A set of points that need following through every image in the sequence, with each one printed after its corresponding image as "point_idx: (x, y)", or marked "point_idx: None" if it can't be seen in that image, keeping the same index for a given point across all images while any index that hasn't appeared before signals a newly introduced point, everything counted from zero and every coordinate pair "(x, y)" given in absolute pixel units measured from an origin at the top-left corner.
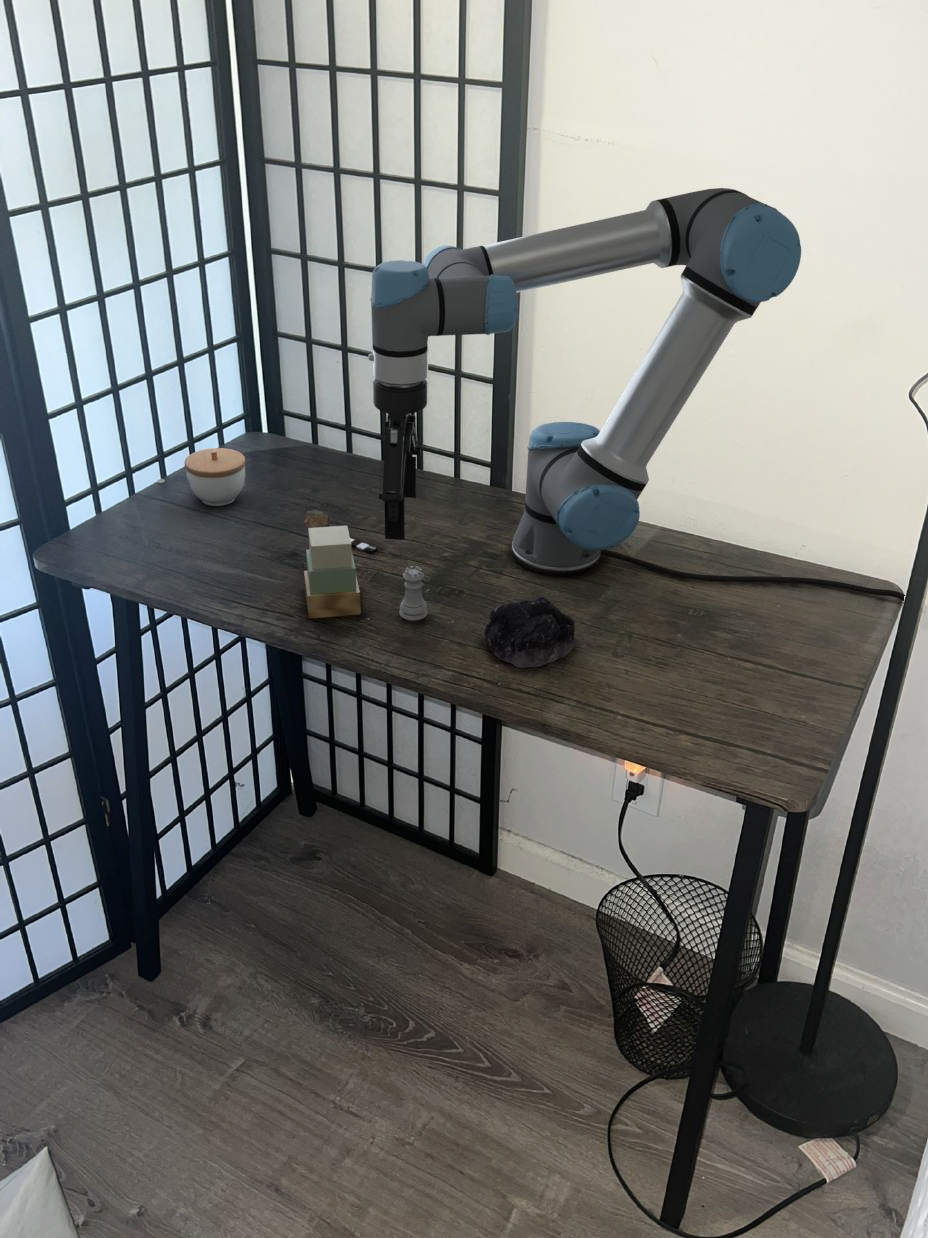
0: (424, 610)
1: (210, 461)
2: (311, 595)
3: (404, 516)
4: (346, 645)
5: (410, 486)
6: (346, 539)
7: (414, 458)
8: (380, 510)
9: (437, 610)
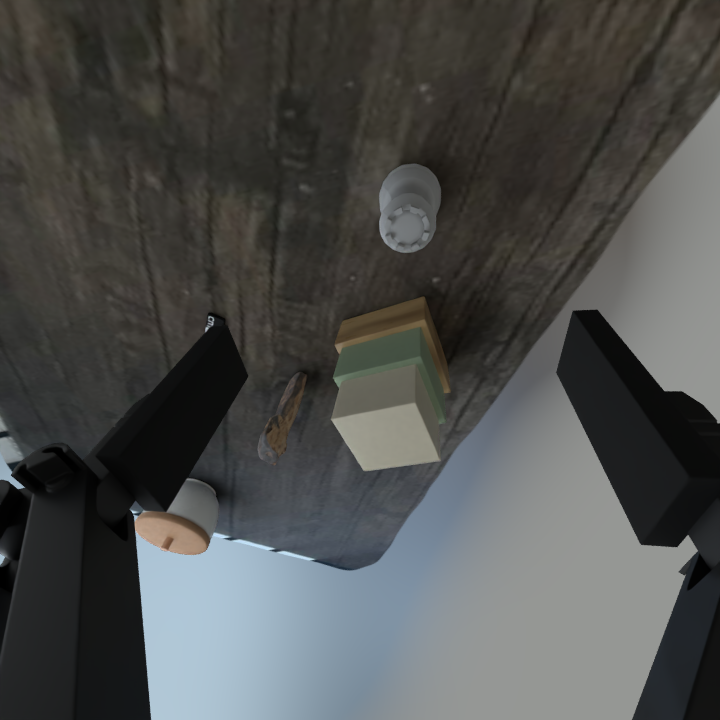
0: (423, 171)
1: (178, 541)
2: (446, 387)
3: (617, 373)
4: (530, 297)
5: (212, 368)
6: (396, 412)
7: (119, 459)
8: (93, 331)
9: (380, 143)
